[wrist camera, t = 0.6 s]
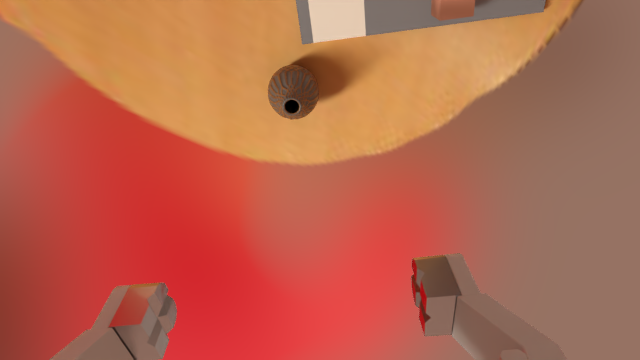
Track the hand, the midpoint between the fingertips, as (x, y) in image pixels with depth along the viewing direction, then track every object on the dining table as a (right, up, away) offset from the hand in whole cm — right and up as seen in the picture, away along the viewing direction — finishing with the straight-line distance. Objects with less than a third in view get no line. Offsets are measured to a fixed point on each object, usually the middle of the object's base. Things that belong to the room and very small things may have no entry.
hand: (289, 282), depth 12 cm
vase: (-3, +17, +42) cm, 45 cm away
